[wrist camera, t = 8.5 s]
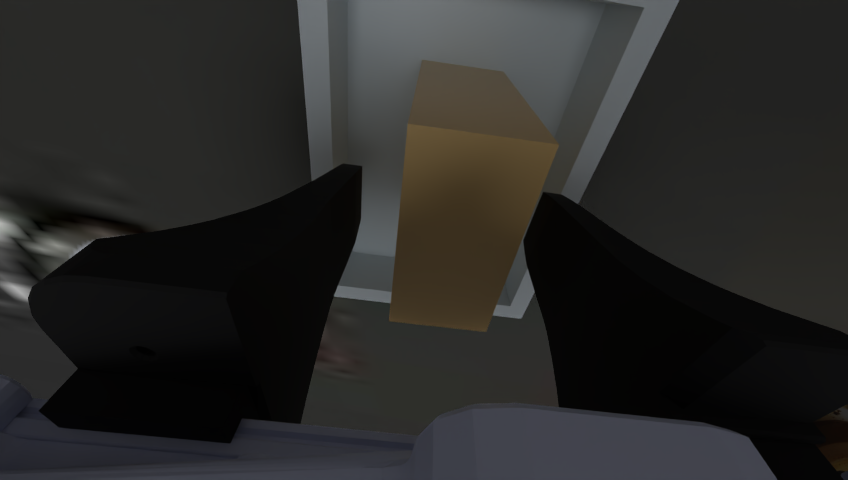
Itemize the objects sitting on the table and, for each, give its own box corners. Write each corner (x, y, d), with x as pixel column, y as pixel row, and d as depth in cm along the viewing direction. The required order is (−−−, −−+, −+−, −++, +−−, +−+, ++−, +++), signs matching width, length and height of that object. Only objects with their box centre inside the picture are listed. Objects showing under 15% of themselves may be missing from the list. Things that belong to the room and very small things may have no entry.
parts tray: (635, -23, 11) (692, -26, 8) (510, 276, 19) (521, 318, 17) (324, -80, 10) (289, -100, 8) (335, 254, 18) (320, 294, 16)
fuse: (503, 71, 12) (559, 144, 6) (469, 209, 16) (486, 331, 10) (422, 59, 12) (407, 124, 6) (406, 201, 16) (389, 321, 10)
